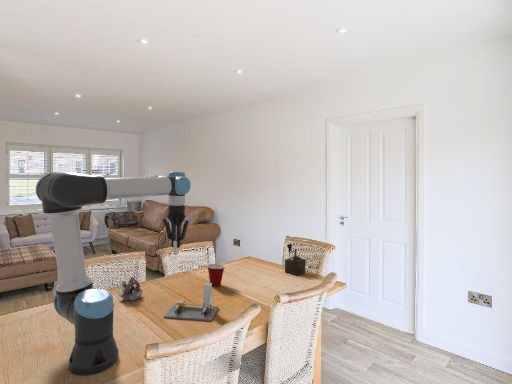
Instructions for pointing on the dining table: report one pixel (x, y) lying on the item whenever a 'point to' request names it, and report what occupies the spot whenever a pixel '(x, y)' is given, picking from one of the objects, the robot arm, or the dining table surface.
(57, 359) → the dining table surface
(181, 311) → the bolt plate
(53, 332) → the dining table surface
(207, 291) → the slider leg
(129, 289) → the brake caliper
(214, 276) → the plastic cup
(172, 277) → the dining table surface
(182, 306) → the gauge rail
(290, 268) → the dark box with lever
